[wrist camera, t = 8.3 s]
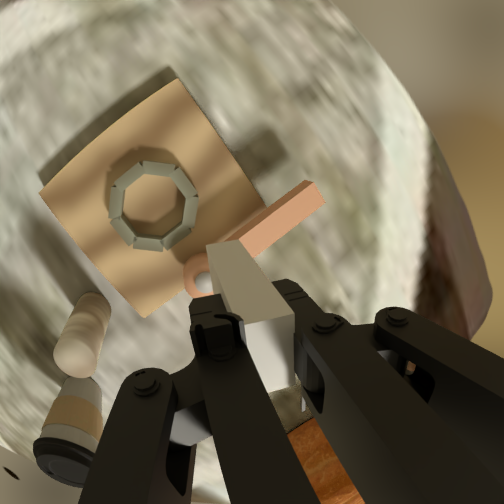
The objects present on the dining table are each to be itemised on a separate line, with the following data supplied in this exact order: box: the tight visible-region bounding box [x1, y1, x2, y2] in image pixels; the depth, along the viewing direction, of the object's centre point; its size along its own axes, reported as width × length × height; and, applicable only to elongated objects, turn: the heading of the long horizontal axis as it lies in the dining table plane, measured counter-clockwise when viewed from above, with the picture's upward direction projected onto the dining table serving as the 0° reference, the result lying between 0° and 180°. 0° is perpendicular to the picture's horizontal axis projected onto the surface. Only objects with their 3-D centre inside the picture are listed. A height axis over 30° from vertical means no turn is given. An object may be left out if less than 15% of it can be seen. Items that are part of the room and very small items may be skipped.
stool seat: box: [39, 78, 267, 318], centre depth 28 cm, size 18×18×4 cm
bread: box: [287, 418, 365, 504], centre depth 45 cm, size 16×26×17 cm, turn 35°
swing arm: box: [183, 180, 326, 298], centre depth 28 cm, size 16×4×3 cm, turn 125°
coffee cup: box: [33, 376, 103, 488], centre depth 28 cm, size 9×9×15 cm
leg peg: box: [53, 292, 111, 378], centre depth 27 cm, size 4×4×10 cm
